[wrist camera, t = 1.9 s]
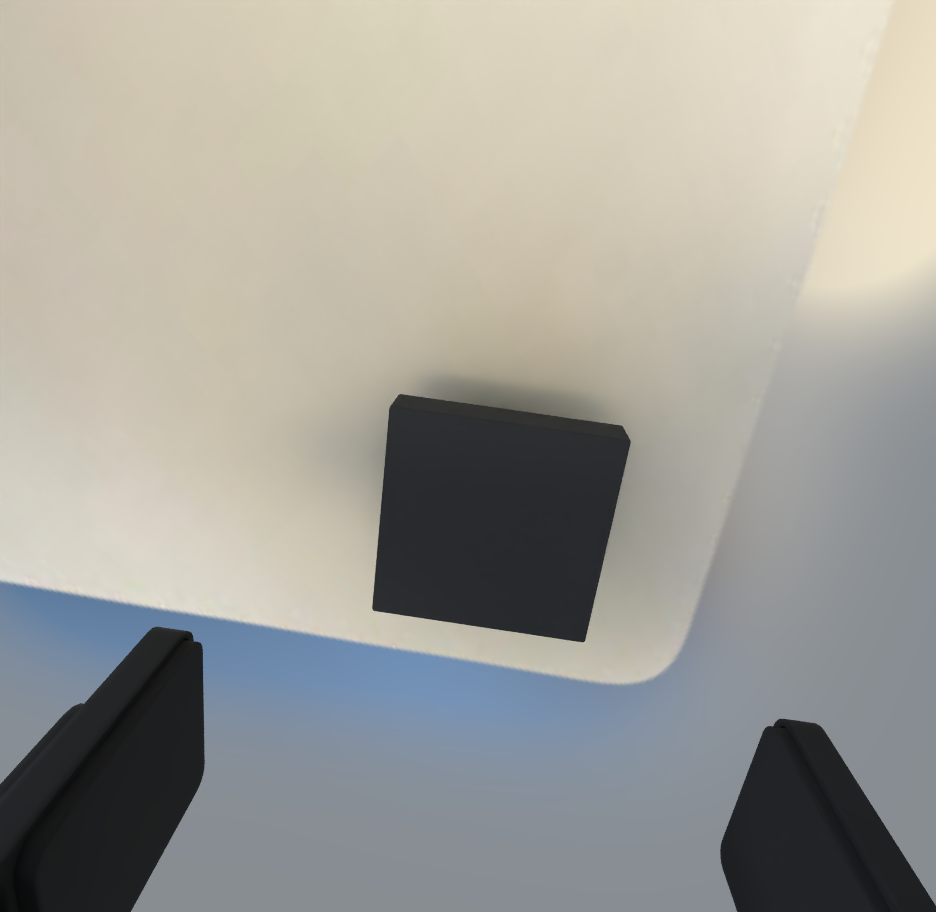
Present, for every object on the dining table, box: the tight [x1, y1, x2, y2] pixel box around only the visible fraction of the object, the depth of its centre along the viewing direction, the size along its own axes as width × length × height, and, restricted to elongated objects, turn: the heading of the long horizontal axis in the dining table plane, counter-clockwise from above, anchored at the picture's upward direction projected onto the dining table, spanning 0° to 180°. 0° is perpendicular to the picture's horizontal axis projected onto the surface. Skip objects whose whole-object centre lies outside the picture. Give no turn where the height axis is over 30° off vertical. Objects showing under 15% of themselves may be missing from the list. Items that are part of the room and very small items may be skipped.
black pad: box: [372, 394, 631, 642], centre depth 22 cm, size 7×7×6 cm
